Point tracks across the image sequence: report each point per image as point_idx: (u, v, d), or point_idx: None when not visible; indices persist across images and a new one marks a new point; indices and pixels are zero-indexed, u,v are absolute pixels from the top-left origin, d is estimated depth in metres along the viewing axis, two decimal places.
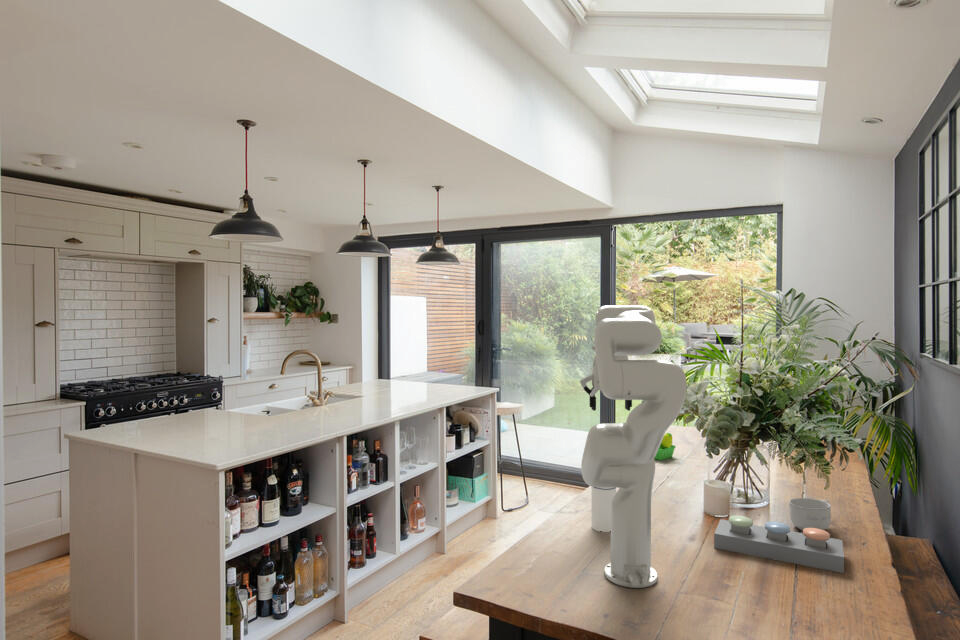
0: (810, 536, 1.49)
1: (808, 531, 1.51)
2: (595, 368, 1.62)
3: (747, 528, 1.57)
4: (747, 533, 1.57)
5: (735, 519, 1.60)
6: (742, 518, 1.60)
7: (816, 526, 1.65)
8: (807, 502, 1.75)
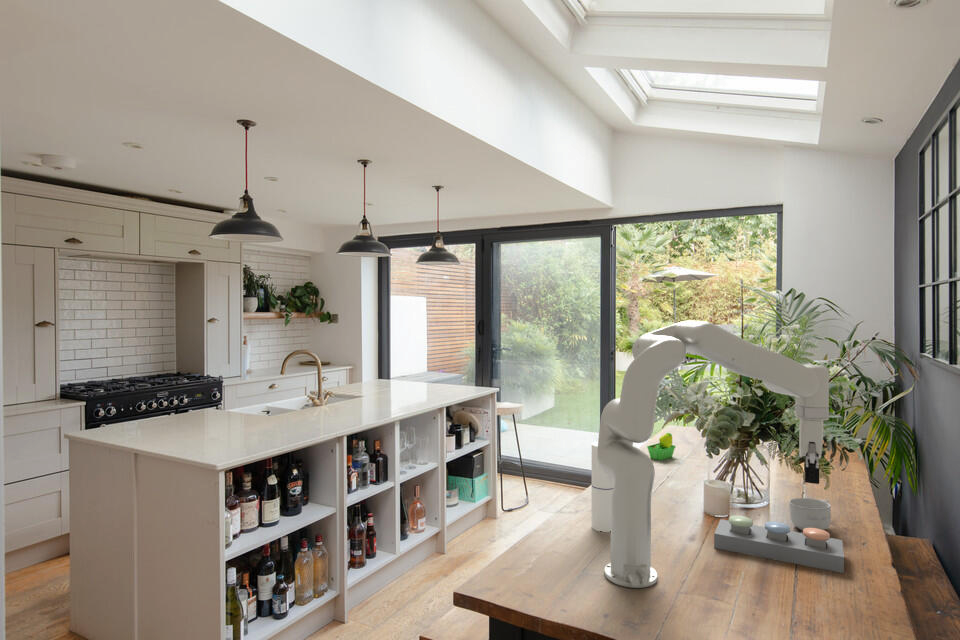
0: (810, 536, 1.49)
1: (808, 531, 1.51)
2: None
3: (747, 528, 1.57)
4: (747, 533, 1.57)
5: (735, 519, 1.60)
6: (742, 518, 1.60)
7: (816, 526, 1.65)
8: (807, 502, 1.75)
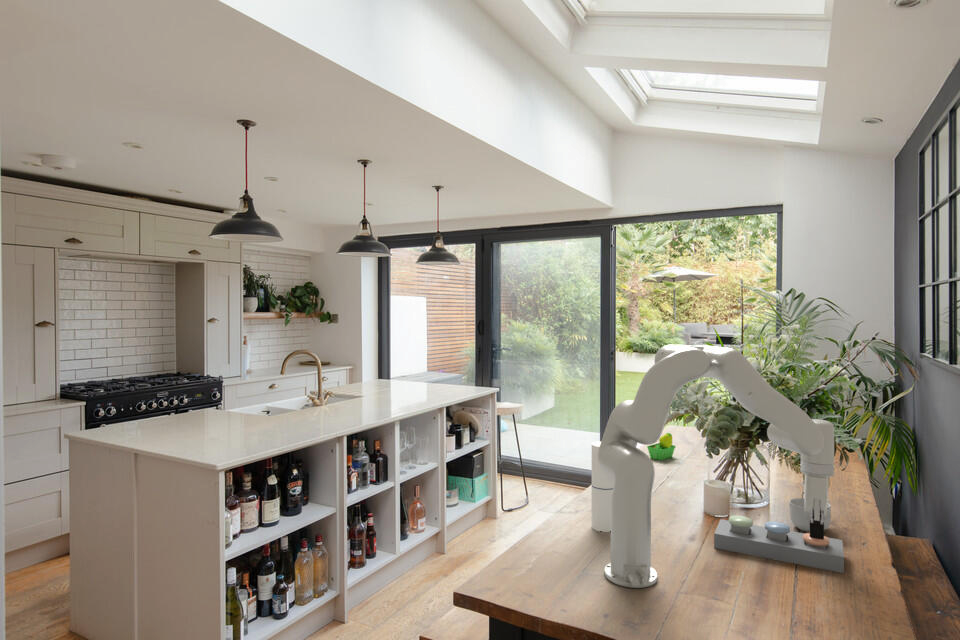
0: (810, 542, 1.49)
1: (808, 536, 1.51)
2: None
3: (747, 528, 1.57)
4: (747, 533, 1.57)
5: (735, 519, 1.60)
6: (742, 518, 1.60)
7: None
8: None
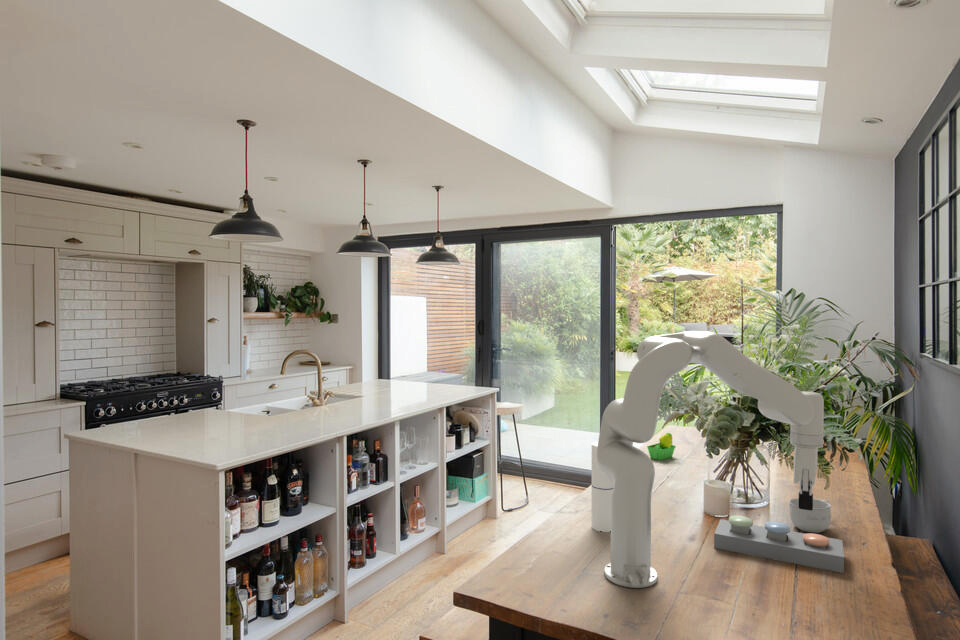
0: (810, 542, 1.49)
1: (808, 537, 1.51)
2: None
3: (747, 528, 1.57)
4: (747, 533, 1.57)
5: (735, 519, 1.60)
6: (742, 518, 1.60)
7: (816, 526, 1.65)
8: None
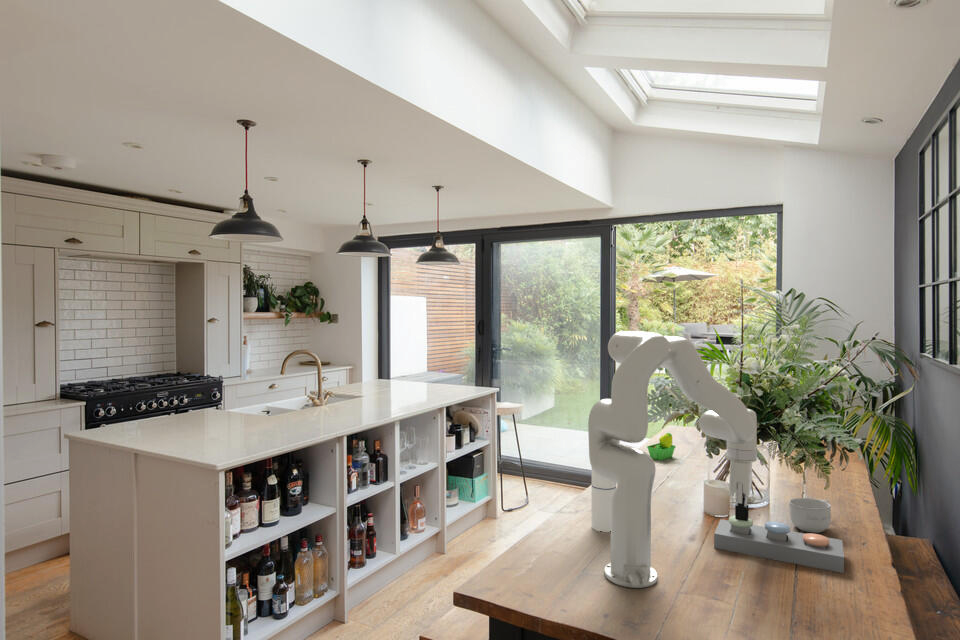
0: (810, 542, 1.49)
1: (808, 537, 1.51)
2: None
3: (747, 528, 1.57)
4: (747, 533, 1.57)
5: (735, 519, 1.59)
6: None
7: (816, 526, 1.65)
8: (807, 502, 1.75)
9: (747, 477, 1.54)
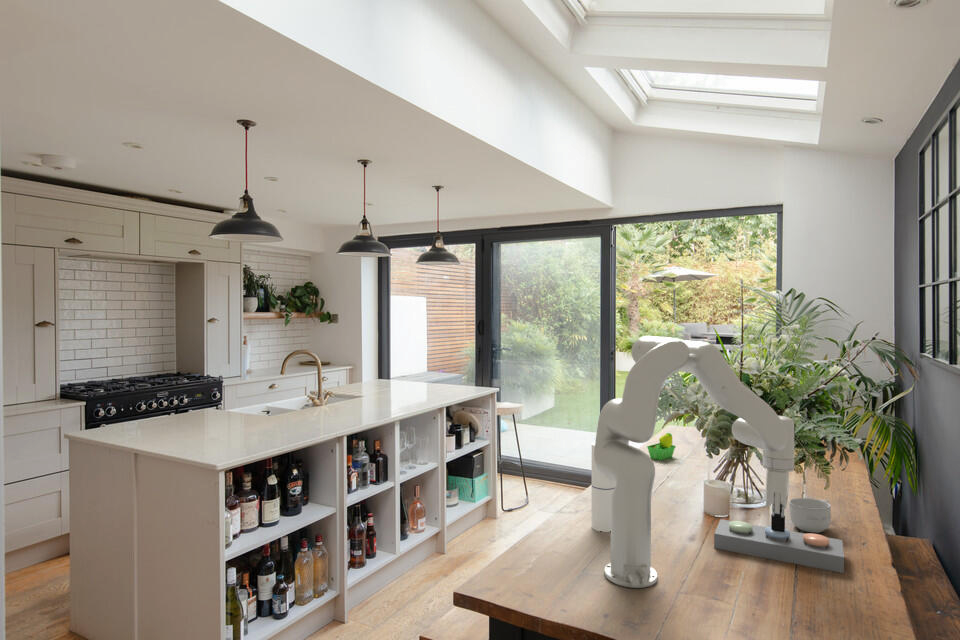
0: (810, 542, 1.49)
1: (808, 537, 1.51)
2: None
3: (747, 534, 1.57)
4: None
5: (735, 525, 1.60)
6: (742, 523, 1.60)
7: (816, 526, 1.65)
8: (807, 502, 1.75)
9: (785, 487, 1.50)
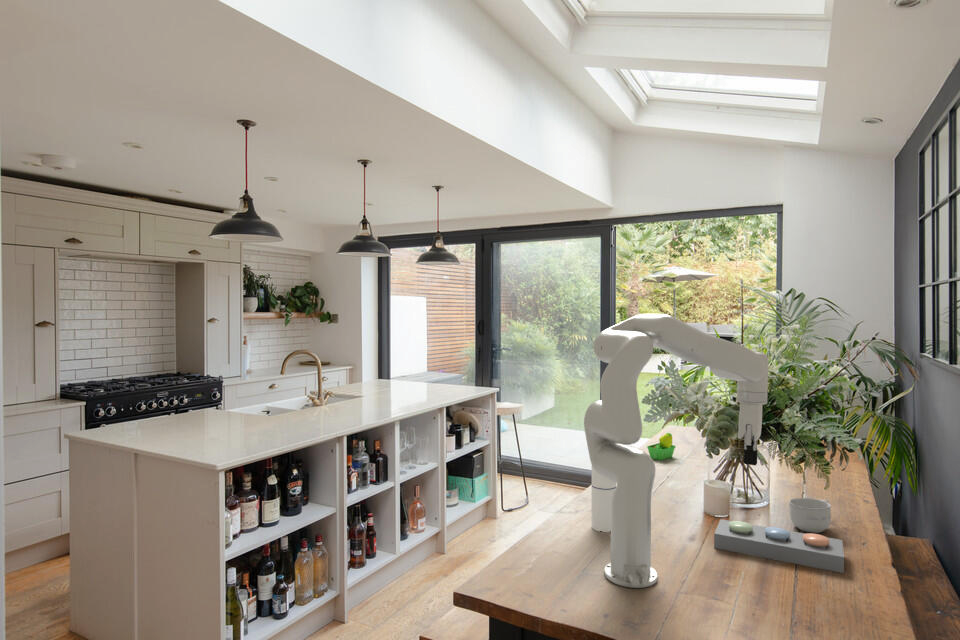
0: (810, 542, 1.49)
1: (808, 537, 1.51)
2: None
3: (747, 534, 1.57)
4: None
5: (735, 525, 1.60)
6: (742, 523, 1.60)
7: (816, 526, 1.65)
8: (807, 502, 1.75)
9: (757, 419, 1.53)
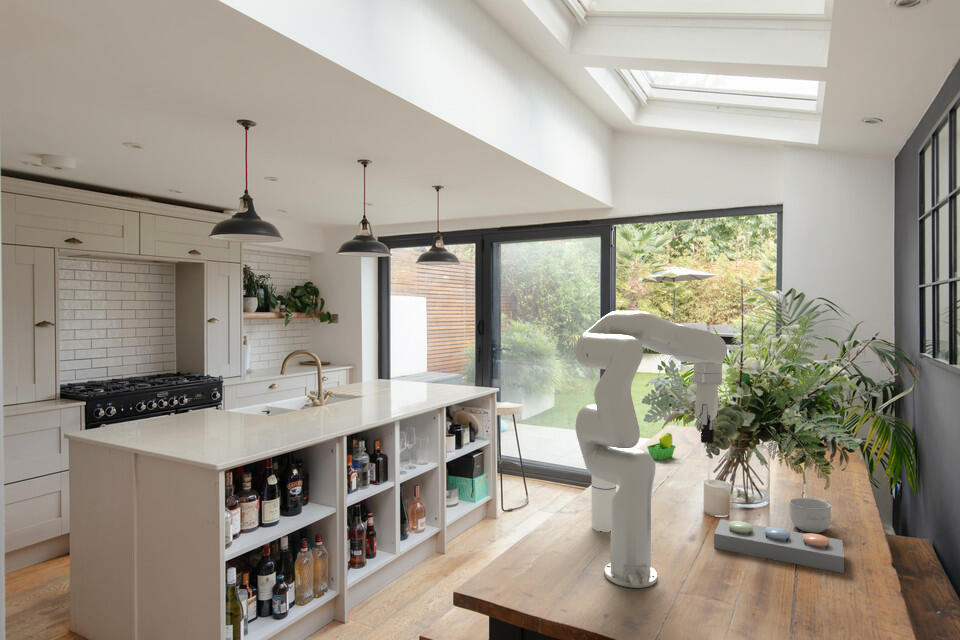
0: (810, 542, 1.49)
1: (808, 537, 1.51)
2: None
3: (747, 534, 1.57)
4: None
5: (735, 525, 1.60)
6: (742, 523, 1.60)
7: (816, 526, 1.65)
8: (807, 502, 1.75)
9: (712, 399, 1.59)
